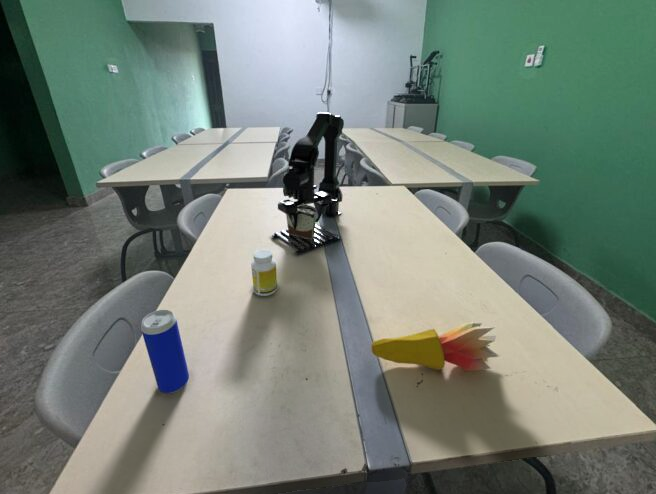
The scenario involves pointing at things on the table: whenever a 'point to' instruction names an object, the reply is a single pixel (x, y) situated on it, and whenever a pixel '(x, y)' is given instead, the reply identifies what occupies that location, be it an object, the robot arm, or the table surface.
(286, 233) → the drying rack
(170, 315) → the beverage can
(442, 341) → the torch
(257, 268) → the pill bottle
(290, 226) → the food container
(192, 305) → the table surface
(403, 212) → the table surface
